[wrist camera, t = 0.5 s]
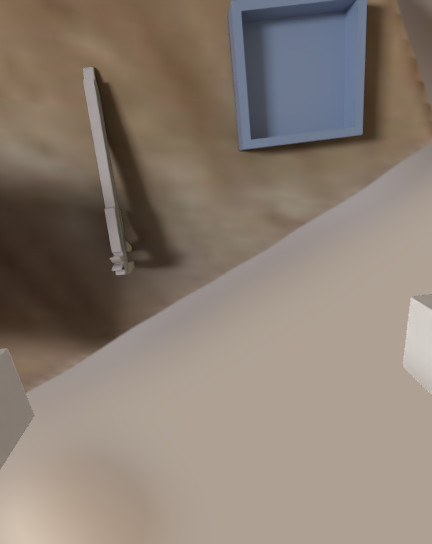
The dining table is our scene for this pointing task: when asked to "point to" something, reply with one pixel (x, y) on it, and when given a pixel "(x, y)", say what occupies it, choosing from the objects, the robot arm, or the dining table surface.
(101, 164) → the caliper
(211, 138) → the dining table surface
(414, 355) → the robot arm
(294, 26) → the tray
